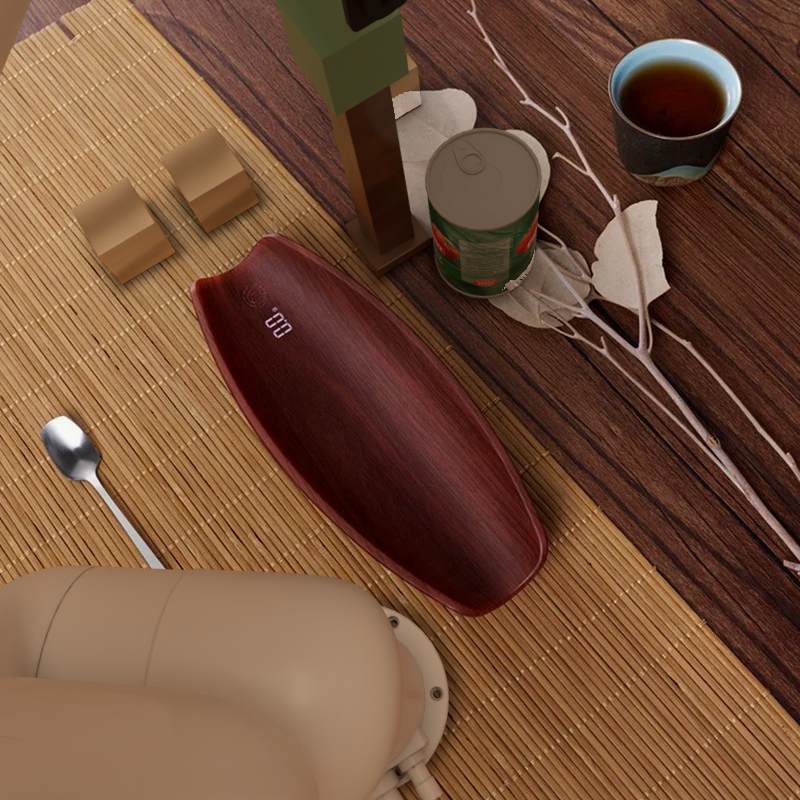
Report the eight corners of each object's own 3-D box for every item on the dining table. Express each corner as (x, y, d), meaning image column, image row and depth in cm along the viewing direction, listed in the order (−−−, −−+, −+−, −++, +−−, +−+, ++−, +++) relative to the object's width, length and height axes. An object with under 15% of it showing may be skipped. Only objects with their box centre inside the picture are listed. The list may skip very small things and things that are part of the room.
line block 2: (259, 202, 76) (244, 169, 71) (207, 233, 76) (188, 202, 71) (230, 159, 78) (213, 124, 73) (179, 190, 77) (159, 156, 72)
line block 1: (175, 252, 75) (154, 222, 71) (122, 284, 75) (97, 256, 70) (148, 208, 77) (126, 176, 72) (96, 239, 76) (70, 209, 72)
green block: (409, 73, 54) (401, 12, 49) (336, 117, 53) (321, 59, 48) (364, 17, 55) (352, -48, 50) (293, 59, 55) (274, -2, 50)
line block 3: (422, 104, 78) (417, 65, 73) (372, 135, 77) (364, 97, 72) (390, 65, 79) (384, 24, 74) (341, 94, 79) (331, 55, 74)
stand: (431, 245, 73) (409, 73, 54) (379, 277, 73) (336, 117, 53) (398, 199, 75) (364, 17, 55) (346, 231, 74) (293, 59, 55)
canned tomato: (554, 269, 72) (564, 194, 61) (465, 316, 71) (461, 249, 61) (502, 192, 74) (504, 108, 64) (416, 237, 74) (404, 160, 63)
